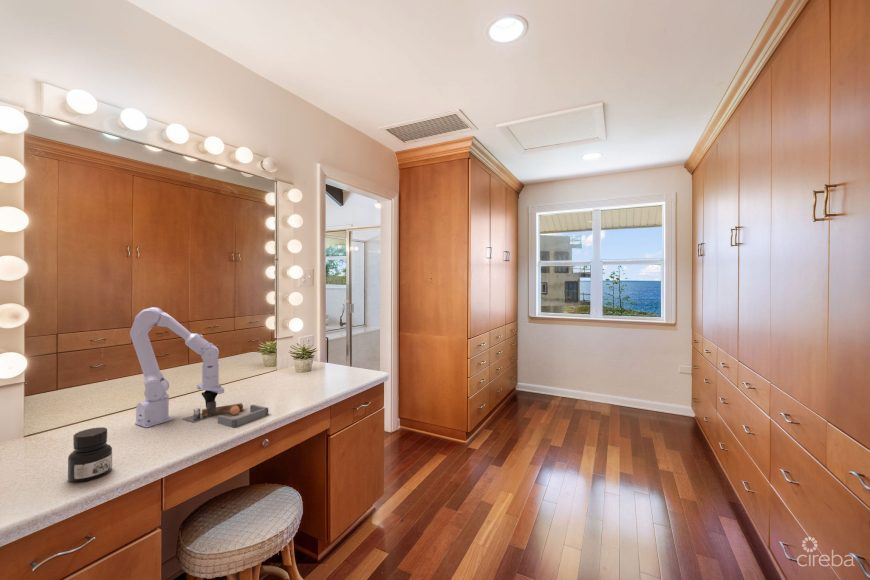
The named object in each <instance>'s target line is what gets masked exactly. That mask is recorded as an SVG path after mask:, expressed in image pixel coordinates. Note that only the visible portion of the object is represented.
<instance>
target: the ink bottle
mask: <svg viewBox="0 0 870 580" xmlns="http://www.w3.org/2000/svg"><path fill="white" fill-rule="evenodd" d="M72 440H73V441H72V442H73V445H72V446H73V451H72V452H70V454H69V455H68V457H67V479H68V481H69V482H72V483H84V482H90V481H92V480H96V479H98V478H101V477H103V476H105V475H107V474H108V473H110V472H111V471H112V469H113V447H112V446H111V444H108V443H107V442H108V429H107V427H100V426H99V427H92V428H88V429H87V428H86V429H84V430H80V431H78V432H76V433H74V434H73V439H72Z"/></svg>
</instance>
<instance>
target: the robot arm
mask: <svg viewBox="0 0 870 580" xmlns="http://www.w3.org/2000/svg"><path fill="white" fill-rule="evenodd" d="M154 326H156V327H164V328H168V329H169V330H171V331H172V332H173V333H175V334H176V335H177V336H179V337H181V338H182V339H184V345H185V346H187V347H188V348H189V349H191V351H193V352H195V353H196V354H197V355H200V356H201V360H202V367H201V369H202V371H201V372H202V373H201V375H202V377H201V381H202V382H201V383H198V384H196V389H197V390H202V391H203V392H201V396H202V398H203V399H204V402H205V407H206V408H205V409H207V402H212V401H216V398H217V397H218V396H217V395H221V394H225V388H224V387H222V384H221V383H219V381H220V380H219V379H220V376H219V375H220V374H219V372H220V371H219V369H220V368H219V367H220V366H219V365H220V364H219V354H220V350H219V348H218V347H217V345H214V343H212V342H210V341H208V340H207V339H205V338H204V335H202V334H201V333H200V334H199V333H191V332H190V331H189V330H188V329H187V328H186V327H185V326H183V325H182V324H181V323H180V322H178V320H176V319H175V318H174V317H173V316H171V315H170V314H168V312H165V311H163V310H162V309H161V308H159V307H156V306H154V307H153V306H152V307H148V308H145V309H142V310H141V311H139V313H137V315H135V317H134V321H133V323H132V325H131V329H130V331H129V335H130V339H131V342H132V345H133V348H134V350H135V352H136V356H137V359H138V362H139V365H140V369H141V371H142V373H143V377H144V379H143V380H144V388H145V389H144V392H143V393H144V397H145V398H144V400H143V401H141V402H139V403H137V405H136V409H135V411H136V413H135V414H136V417H135V419H136V420H135V423H134V424H135V425H138V426H141V427H144V428H149V427H154V426H156V425H160V424H162V423H166V422H169V421H173V420H175V418H174V417H172V416H169V414H170V413H169V412H170V409H169V408H170V407H169V404H170V403H169V401H170V395H169V394H168V393H167V391H168V390H169V388H170V382H169V381H168V380H167V379H165V377H164V374H163V373H162V372H161V370H160V367H159V364H158V361H157V358H156V355H155V351H154V349H153V346H152V343H151V340H150V337H149V332H150V331H151V330H152V328H153V327H154Z"/></svg>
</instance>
